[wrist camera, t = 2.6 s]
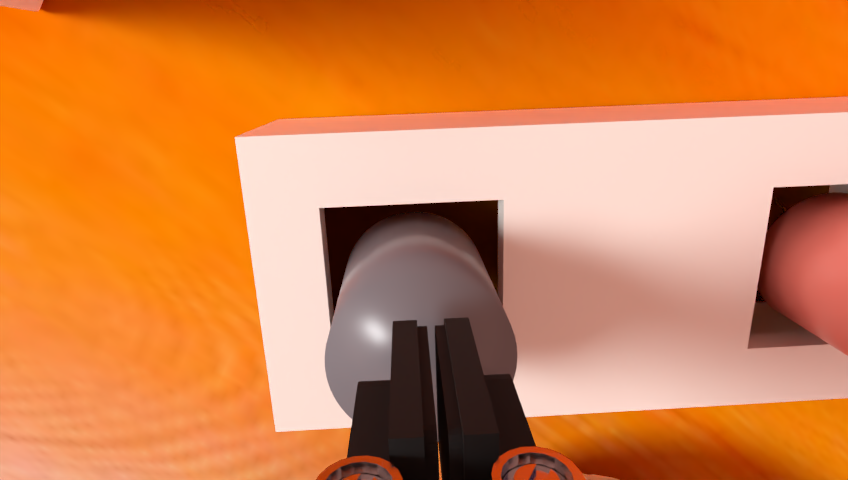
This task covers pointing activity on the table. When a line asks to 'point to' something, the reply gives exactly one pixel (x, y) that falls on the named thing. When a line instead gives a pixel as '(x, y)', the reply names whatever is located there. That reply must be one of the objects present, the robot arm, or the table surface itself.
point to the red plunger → (810, 267)
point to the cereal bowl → (597, 477)
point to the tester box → (564, 244)
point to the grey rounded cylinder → (412, 301)
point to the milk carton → (23, 4)
